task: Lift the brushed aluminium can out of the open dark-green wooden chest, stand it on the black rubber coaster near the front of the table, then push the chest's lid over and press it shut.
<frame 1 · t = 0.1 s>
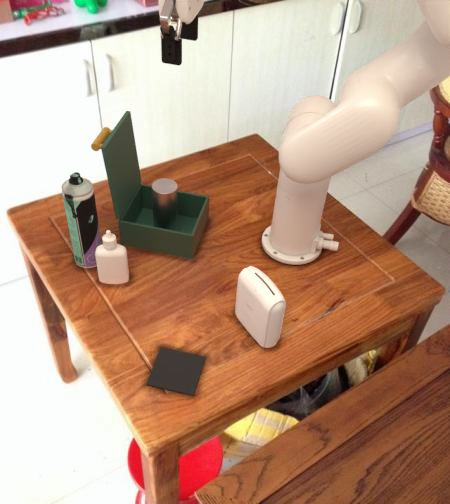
hand: (180, 50, 92), 37 cm above the table, tool pointing down, fingers open, 9 cm apart
coaster: (176, 371, 94), on the table
lid: (113, 164, 107), point 15 cm above the table, hinge at 95.0°
eye dropper bottle: (114, 280, 107), on the table
spray can: (89, 260, 110), on the table
chest: (165, 233, 117), on the table
tin can: (165, 231, 117), resting on chest
photo printer: (256, 328, 101), on the table
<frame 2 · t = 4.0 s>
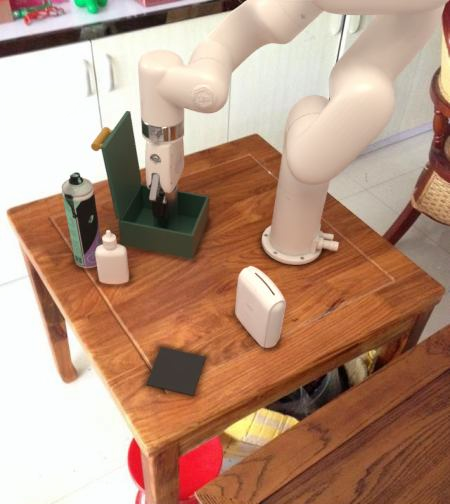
hand: (165, 207, 112), 7 cm above the table, tool pointing down, fingers closed on tin can, 5 cm apart
tin can: (165, 231, 117), point 1 cm above the table, touching chest, gripper
everything else where it was.
when the fingers open (7 cm above the table, at t = 12.7 s): tin can stays where it is, resting on coaster.
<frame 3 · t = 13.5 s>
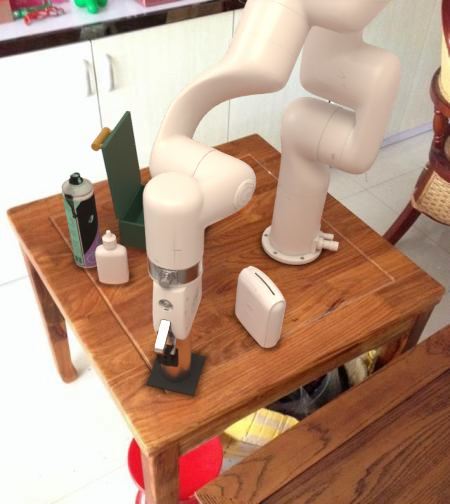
hand: (177, 339, 88), 8 cm above the table, tool pointing down, fingers open, 9 cm apart
tin can: (175, 370, 93), resting on coaster
everything else where it was.
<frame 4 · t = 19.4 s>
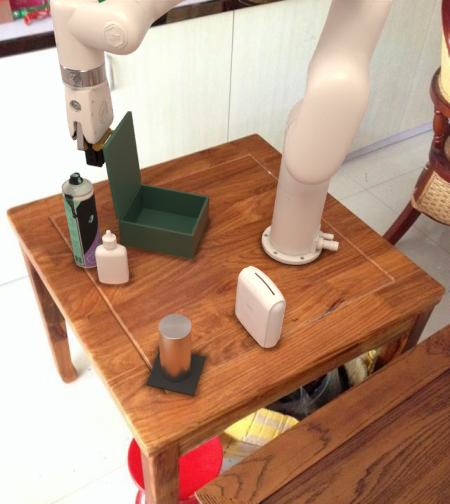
hand: (95, 163, 108), 14 cm above the table, tool pointing down, fingers closed
lid: (114, 164, 107), point 15 cm above the table, hinge at 93.9°, touching gripper
everything else where it was.
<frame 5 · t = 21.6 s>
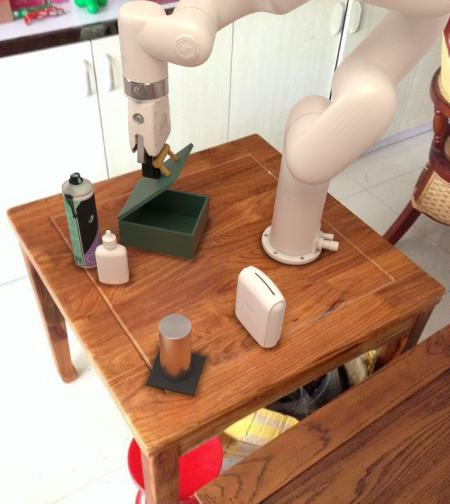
hand: (151, 175, 107), 14 cm above the table, tool pointing down, fingers closed
lid: (148, 174, 107), point 14 cm above the table, hinge at 44.5°, touching gripper
everything else where it was.
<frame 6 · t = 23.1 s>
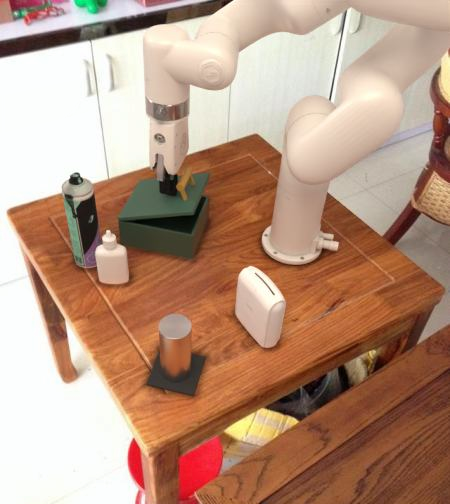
hand: (168, 192, 109), 11 cm above the table, tool pointing down, fingers closed
lid: (161, 188, 109), point 11 cm above the table, hinge at 18.9°
everything else where it was.
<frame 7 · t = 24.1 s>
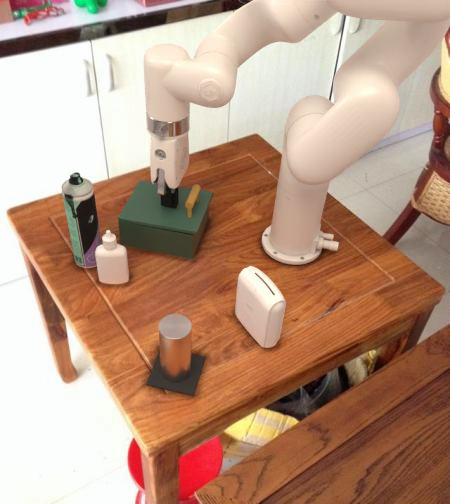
hand: (169, 204, 111), 8 cm above the table, tool pointing down, fingers closed
lid: (166, 198, 110), point 9 cm above the table, hinge at 1.6°, touching gripper
everything else where it was.
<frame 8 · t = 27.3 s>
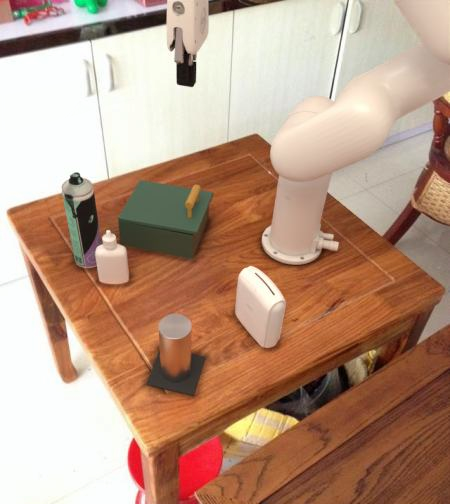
hand: (186, 83, 101), 29 cm above the table, tool pointing down, fingers closed
lid: (166, 198, 110), point 9 cm above the table, hinge at 1.5°
everything else where it was.
at the end: tin can inside the target area on the coaster (0.1 cm from its centre), point 0.3 cm above the coaster's base; tin can tilted 0°; lid at +2° (first picture: +95°) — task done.
